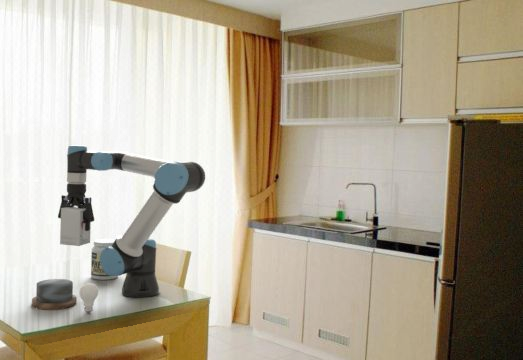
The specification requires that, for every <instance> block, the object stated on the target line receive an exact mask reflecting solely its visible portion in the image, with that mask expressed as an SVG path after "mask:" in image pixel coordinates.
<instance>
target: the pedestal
mask: <svg viewBox="0 0 523 360" xmlns="http://www.w3.org/2000/svg"><path fill="white" fill-rule="evenodd" d="M73 288H74V281H72V280H69V279H65V278H51V279H49V278H48V279H43V280H41V281H40V280H39V281H38V282H36V291H35V292H36V294H35V295H36V296H34V297H33V298H32V299H31V307H33V308H34V309H36V308H37V310H41V309H42V310H43V311H56V310H57V311H58V310H65V309H69V308H72V307H74V306H75V305H77V303H78V302H77V295H75V294H73V293H74V291H73ZM42 310H41V311H42Z"/></svg>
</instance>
